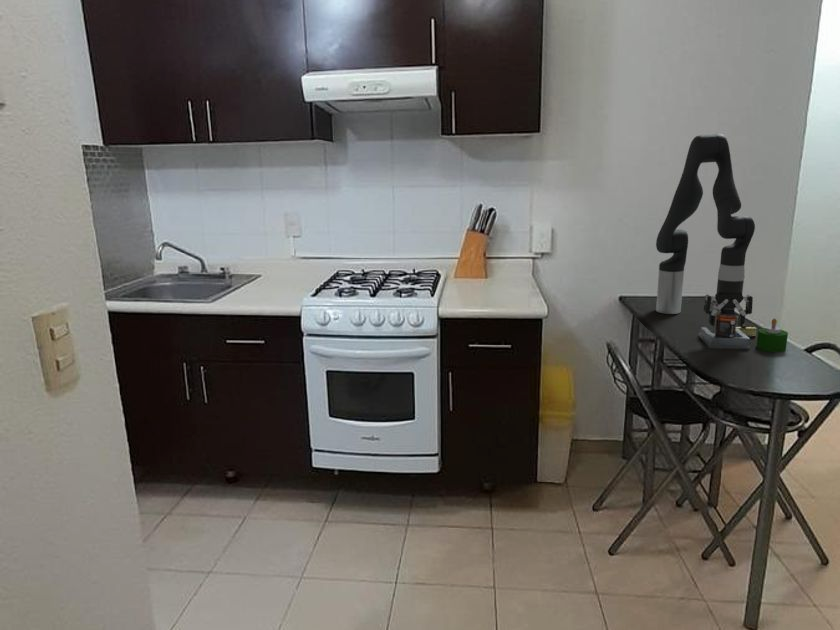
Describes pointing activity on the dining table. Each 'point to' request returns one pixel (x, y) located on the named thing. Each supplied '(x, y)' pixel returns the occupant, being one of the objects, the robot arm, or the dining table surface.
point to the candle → (772, 338)
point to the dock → (725, 340)
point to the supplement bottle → (726, 323)
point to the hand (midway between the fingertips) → (725, 325)
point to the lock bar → (748, 330)
